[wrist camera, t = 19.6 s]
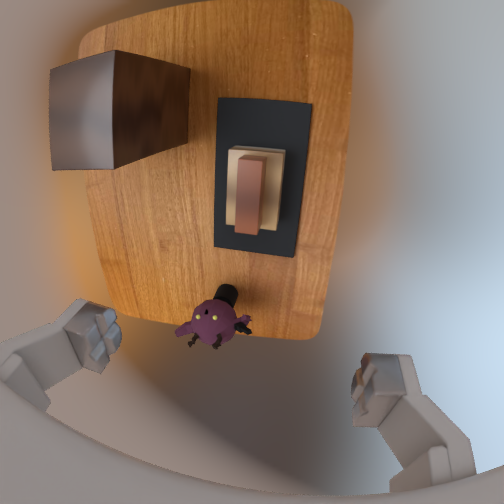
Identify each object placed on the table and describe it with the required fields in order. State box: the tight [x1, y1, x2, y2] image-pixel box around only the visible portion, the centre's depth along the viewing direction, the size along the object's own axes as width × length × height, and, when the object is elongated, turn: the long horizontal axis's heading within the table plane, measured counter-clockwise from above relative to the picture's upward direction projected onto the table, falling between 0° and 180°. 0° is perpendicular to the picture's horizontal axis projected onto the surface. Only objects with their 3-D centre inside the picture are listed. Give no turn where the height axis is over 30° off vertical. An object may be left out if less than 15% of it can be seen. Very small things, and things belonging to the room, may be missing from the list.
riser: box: [49, 50, 190, 171], centre depth 26 cm, size 10×8×16 cm
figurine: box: [175, 284, 252, 349], centre depth 39 cm, size 8×8×12 cm
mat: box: [214, 98, 312, 258], centre depth 35 cm, size 20×11×1 cm, turn 176°
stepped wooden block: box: [226, 146, 286, 235], centre depth 32 cm, size 9×6×6 cm, turn 176°
